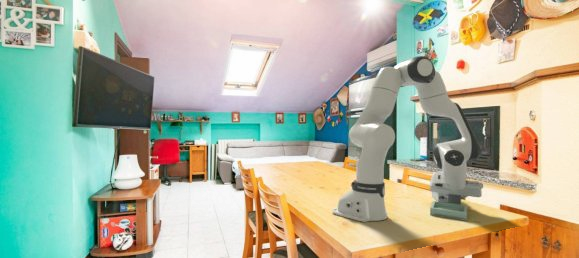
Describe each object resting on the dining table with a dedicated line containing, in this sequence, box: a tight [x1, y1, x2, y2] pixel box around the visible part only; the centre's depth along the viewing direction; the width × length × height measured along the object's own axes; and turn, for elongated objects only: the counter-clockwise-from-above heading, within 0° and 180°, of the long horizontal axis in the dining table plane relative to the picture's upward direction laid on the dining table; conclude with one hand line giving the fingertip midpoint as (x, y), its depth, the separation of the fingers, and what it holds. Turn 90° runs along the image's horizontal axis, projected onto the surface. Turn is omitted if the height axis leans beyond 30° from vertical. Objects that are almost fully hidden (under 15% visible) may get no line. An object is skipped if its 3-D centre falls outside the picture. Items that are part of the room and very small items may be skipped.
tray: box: [429, 200, 468, 222], centre depth 118 cm, size 13×13×3 cm
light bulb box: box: [431, 192, 448, 203], centre depth 140 cm, size 11×7×11 cm, turn 168°
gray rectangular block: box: [447, 194, 462, 205], centre depth 128 cm, size 5×5×8 cm
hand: (454, 197), depth 128 cm, fingers closed on gray rectangular block, 5 cm apart
